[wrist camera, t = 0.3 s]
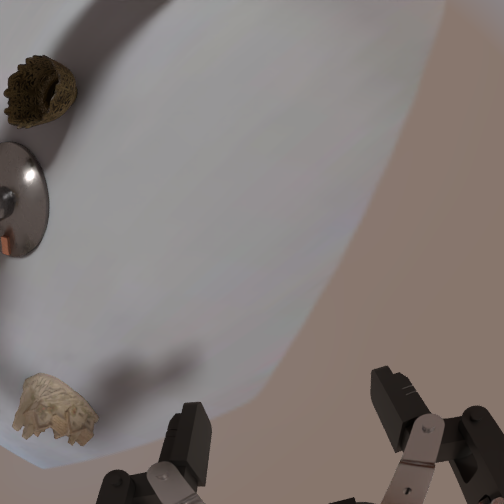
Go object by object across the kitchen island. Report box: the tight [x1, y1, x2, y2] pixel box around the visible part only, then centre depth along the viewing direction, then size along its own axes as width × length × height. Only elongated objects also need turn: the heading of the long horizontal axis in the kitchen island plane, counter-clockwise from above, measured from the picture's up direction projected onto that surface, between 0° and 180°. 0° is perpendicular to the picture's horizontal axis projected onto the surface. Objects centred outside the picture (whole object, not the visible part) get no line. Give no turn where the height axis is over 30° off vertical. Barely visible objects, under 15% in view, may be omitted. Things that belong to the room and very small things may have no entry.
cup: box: [4, 55, 78, 129], centre depth 21 cm, size 7×7×8 cm
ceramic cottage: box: [12, 373, 99, 446], centre depth 39 cm, size 16×16×15 cm
